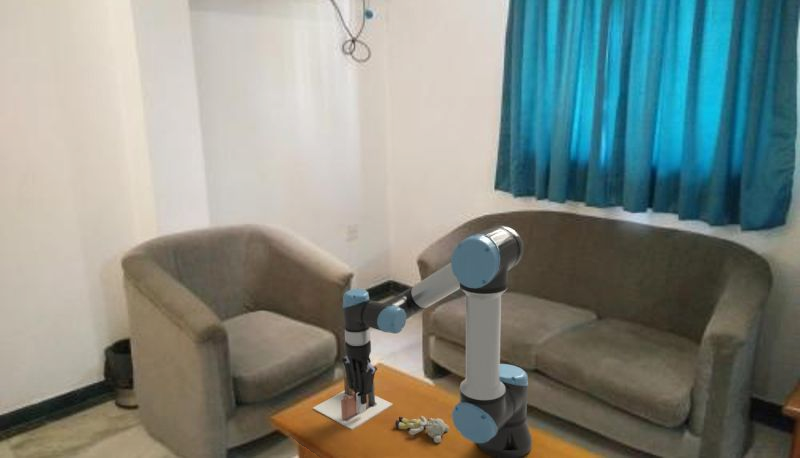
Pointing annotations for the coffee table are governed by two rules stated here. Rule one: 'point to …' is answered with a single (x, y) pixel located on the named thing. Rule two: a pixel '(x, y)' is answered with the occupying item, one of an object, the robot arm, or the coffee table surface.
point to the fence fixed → (349, 391)
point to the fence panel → (349, 406)
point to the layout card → (334, 412)
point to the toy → (424, 426)
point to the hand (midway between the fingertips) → (361, 411)
